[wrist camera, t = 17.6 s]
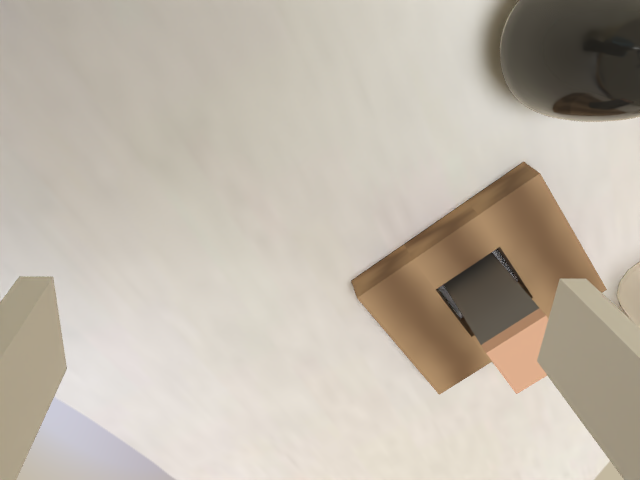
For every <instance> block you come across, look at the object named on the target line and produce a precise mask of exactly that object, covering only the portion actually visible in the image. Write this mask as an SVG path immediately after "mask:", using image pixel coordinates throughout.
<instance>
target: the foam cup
mask: <svg viewBox="0 0 640 480" xmlns="http://www.w3.org/2000/svg"><path fill="white" fill-rule="evenodd" d="M617 297H618V300H619V303H620V306H621V307H623V310H624V311H625V312H626V314H627V315H628V316H629V318H630V319H631V320H632V321H633V322H634V323H635V324H636V325H637V326H638V327H639V328H640V262H639V263H637V264H636V265H635V266H633V267H632V268H631V269H629V270H628V271H627V272H626V274H625V275H624V277H623V278H622V280H621V281H620V282H619V287H618V292H617Z"/></svg>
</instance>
